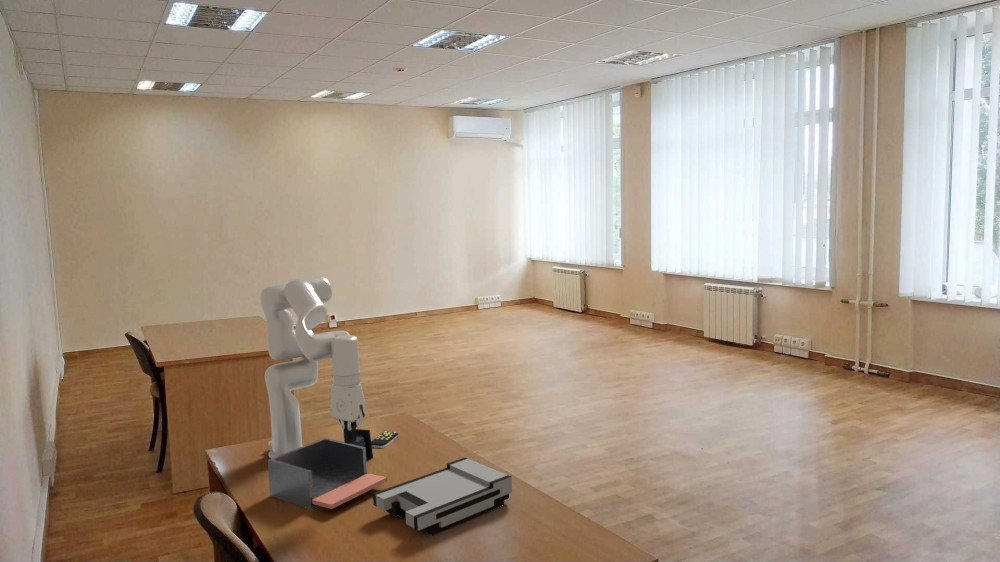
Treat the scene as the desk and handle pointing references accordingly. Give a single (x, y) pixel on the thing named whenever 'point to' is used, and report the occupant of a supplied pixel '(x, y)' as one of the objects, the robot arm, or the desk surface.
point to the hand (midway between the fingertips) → (350, 441)
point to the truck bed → (315, 470)
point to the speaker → (364, 441)
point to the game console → (446, 496)
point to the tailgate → (349, 491)
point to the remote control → (384, 439)
